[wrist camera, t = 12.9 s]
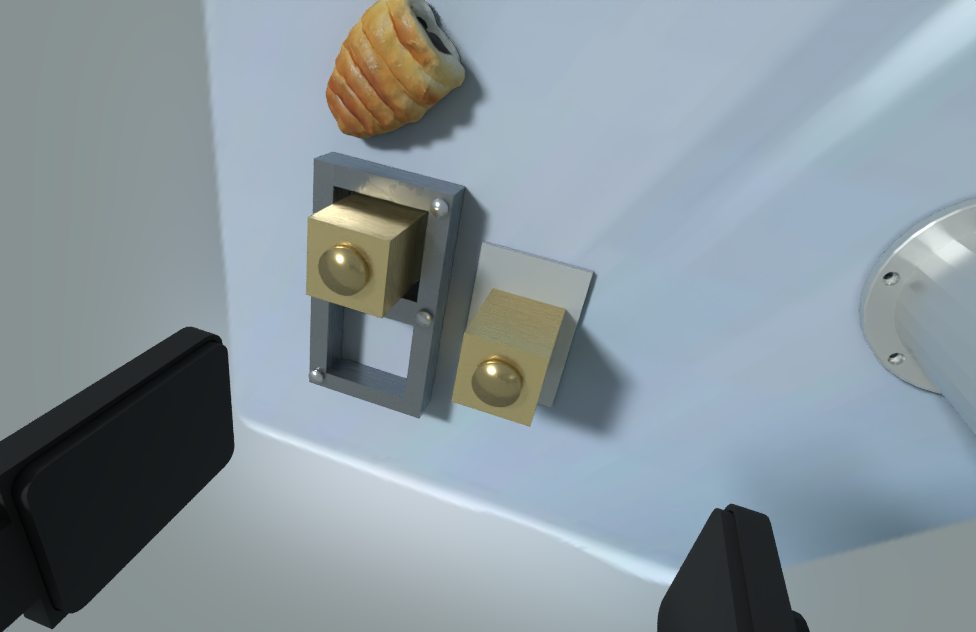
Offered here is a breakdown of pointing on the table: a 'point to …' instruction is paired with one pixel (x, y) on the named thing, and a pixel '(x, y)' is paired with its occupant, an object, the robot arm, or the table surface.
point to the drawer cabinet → (413, 308)
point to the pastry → (392, 69)
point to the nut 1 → (365, 252)
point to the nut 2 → (507, 356)
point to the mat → (535, 295)
